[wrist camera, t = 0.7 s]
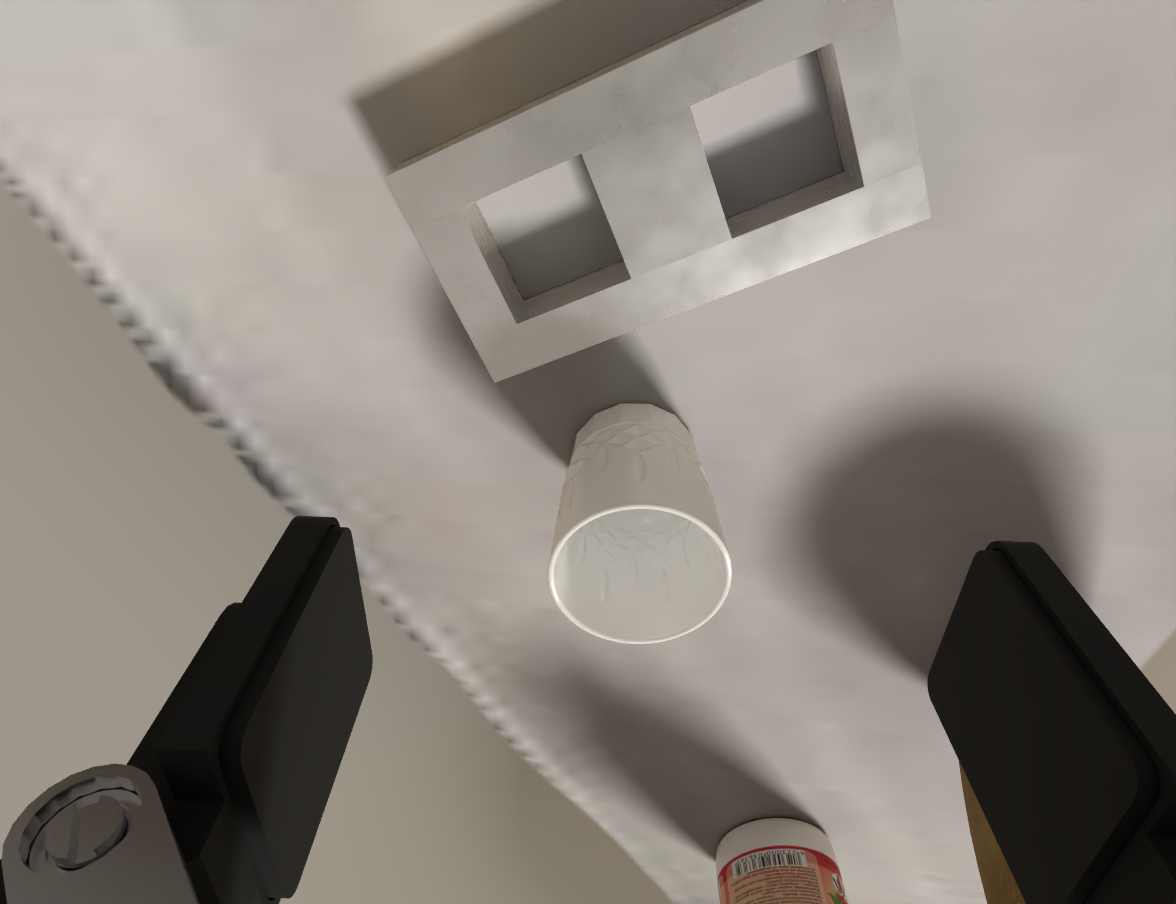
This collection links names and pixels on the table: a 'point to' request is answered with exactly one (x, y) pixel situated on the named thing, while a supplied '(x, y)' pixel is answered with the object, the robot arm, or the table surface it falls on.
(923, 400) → the table surface
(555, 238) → the table surface
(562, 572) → the white cup
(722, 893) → the fruit juice
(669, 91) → the rail
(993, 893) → the plant pot
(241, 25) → the table surface
